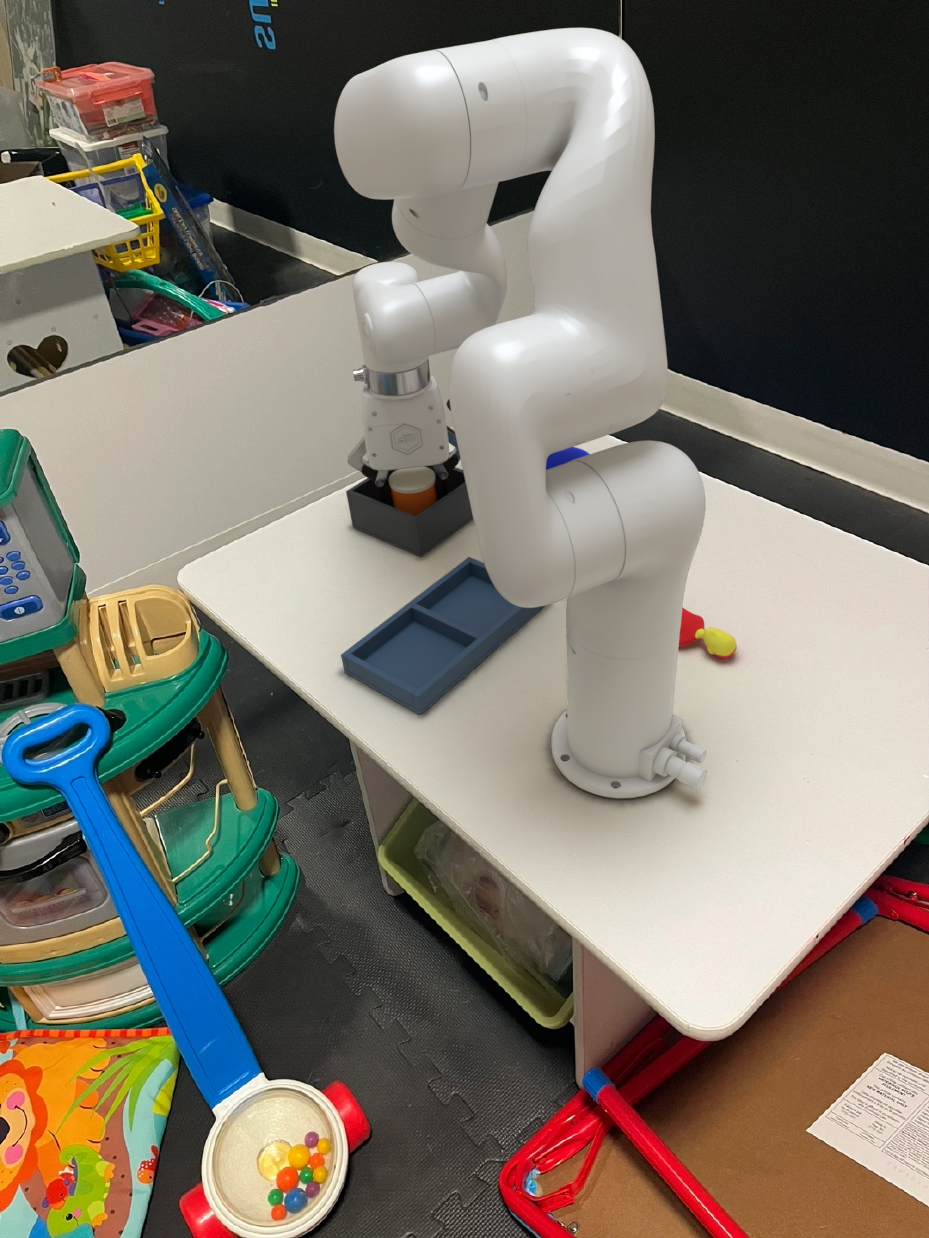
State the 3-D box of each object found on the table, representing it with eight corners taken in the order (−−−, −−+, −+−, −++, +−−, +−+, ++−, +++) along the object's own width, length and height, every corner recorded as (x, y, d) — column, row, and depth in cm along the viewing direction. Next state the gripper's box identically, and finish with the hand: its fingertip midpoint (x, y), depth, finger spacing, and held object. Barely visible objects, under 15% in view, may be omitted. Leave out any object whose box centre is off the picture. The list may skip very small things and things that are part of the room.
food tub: (449, 513, 120) (444, 473, 116) (418, 535, 117) (413, 494, 113) (415, 500, 123) (410, 461, 120) (385, 521, 120) (378, 481, 116)
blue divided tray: (545, 606, 105) (544, 588, 103) (420, 715, 93) (417, 696, 91) (470, 573, 111) (468, 556, 109) (344, 672, 98) (340, 654, 97)
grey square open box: (482, 512, 121) (479, 475, 117) (421, 557, 114) (416, 519, 110) (414, 486, 127) (409, 451, 124) (352, 527, 121) (345, 491, 117)
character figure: (593, 545, 105) (747, 614, 93) (600, 569, 108) (750, 639, 96) (562, 579, 103) (716, 654, 91) (570, 603, 106) (720, 678, 95)
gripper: (324, 396, 105) (349, 528, 116) (473, 380, 105) (484, 512, 117) (326, 369, 111) (349, 497, 122) (467, 353, 111) (478, 482, 122)
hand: (415, 503), depth 119 cm, fingers closed on food tub, 6 cm apart
